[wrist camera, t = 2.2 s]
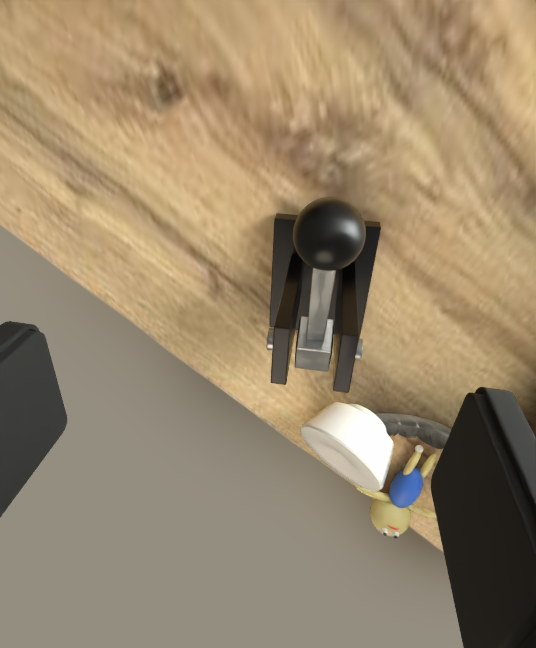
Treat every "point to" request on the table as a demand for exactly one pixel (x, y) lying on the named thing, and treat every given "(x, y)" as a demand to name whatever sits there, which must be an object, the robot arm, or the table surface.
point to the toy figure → (400, 498)
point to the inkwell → (365, 440)
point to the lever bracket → (295, 297)
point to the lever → (324, 271)
